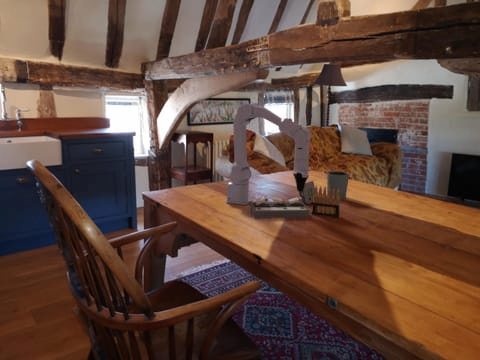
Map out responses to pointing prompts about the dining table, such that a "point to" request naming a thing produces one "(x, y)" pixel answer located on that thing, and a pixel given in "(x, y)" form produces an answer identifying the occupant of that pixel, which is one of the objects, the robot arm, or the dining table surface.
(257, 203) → the rocker left
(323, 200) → the ammunition clip
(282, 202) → the rocker middle
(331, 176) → the grey cup
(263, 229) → the dining table surface
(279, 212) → the switch panel
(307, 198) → the electrical switch
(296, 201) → the rocker right
